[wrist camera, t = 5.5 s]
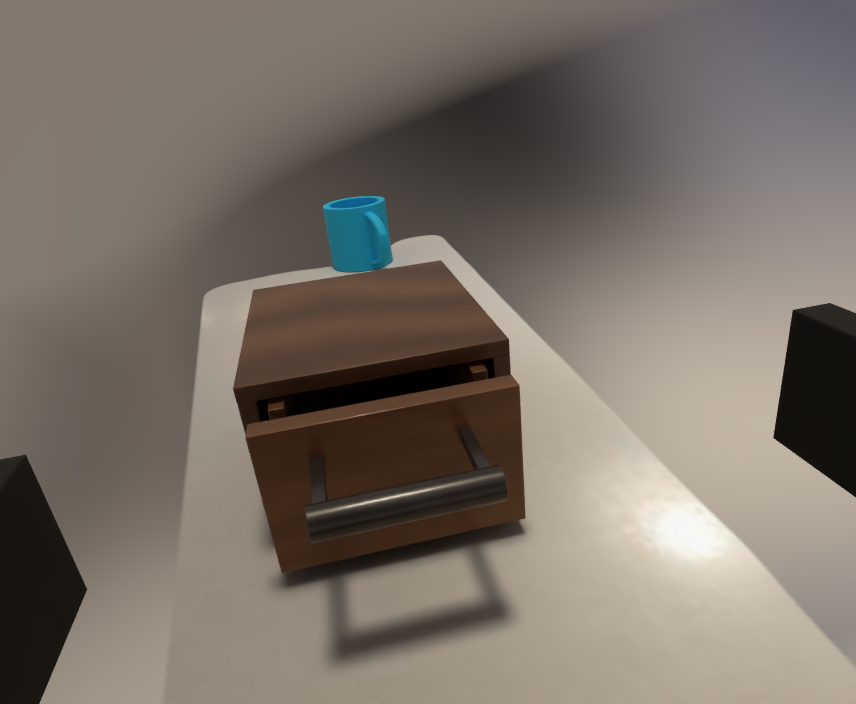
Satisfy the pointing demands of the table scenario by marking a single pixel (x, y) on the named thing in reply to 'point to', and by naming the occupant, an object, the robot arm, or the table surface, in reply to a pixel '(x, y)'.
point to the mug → (358, 233)
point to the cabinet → (360, 333)
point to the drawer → (388, 462)
